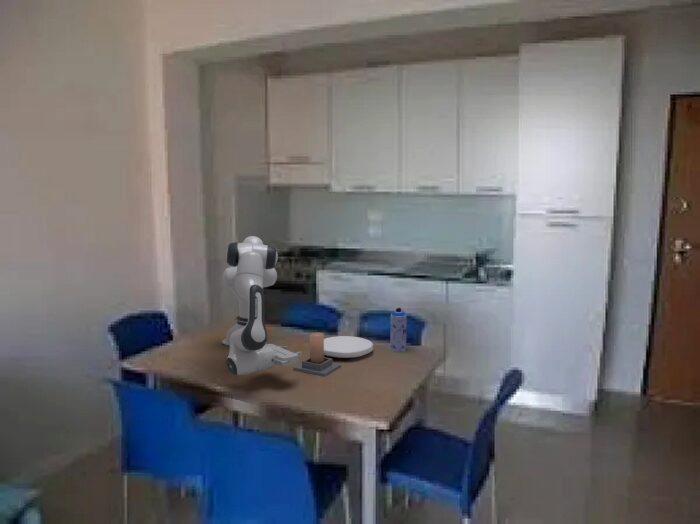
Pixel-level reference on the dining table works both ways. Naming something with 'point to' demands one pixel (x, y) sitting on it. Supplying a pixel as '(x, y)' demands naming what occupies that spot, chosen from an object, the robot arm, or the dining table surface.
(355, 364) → the dining table surface
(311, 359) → the salmon pink cylinder
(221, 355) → the dining table surface
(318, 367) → the grey square tray
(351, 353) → the plate
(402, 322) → the aerosol can
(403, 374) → the dining table surface
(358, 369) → the dining table surface
